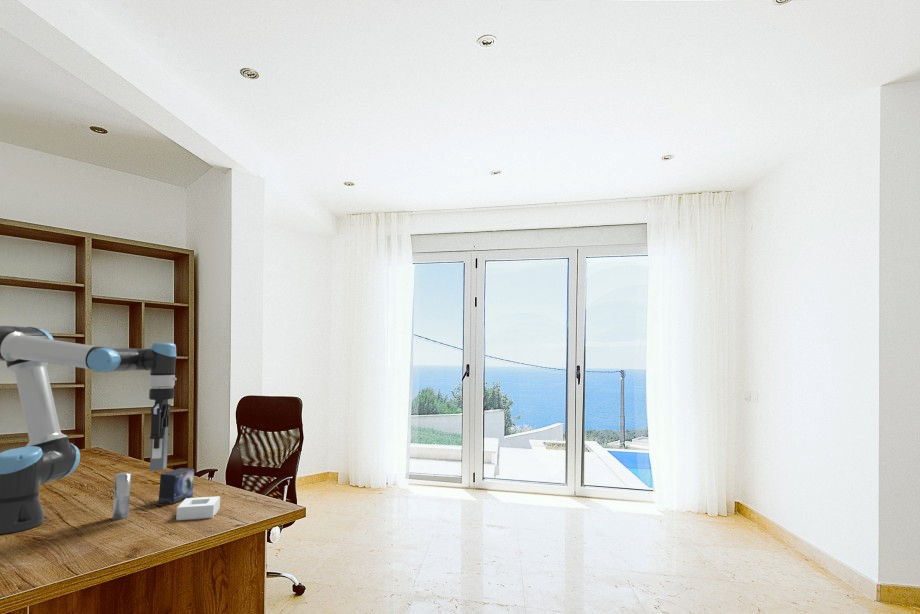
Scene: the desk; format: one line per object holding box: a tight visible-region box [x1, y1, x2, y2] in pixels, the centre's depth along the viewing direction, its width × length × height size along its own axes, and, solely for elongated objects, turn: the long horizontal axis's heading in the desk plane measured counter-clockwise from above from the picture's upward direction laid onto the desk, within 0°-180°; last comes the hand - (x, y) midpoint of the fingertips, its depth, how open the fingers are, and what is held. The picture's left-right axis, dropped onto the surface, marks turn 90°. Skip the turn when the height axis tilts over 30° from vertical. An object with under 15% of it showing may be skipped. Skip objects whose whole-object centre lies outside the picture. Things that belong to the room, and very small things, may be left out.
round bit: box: [112, 472, 132, 521], centre depth 170 cm, size 4×4×14 cm
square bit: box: [149, 425, 170, 472], centre depth 176 cm, size 4×4×14 cm
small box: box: [157, 467, 195, 505], centre depth 190 cm, size 11×6×10 cm, turn 168°
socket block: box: [175, 495, 221, 521], centre depth 174 cm, size 11×11×4 cm
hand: (158, 456), depth 175 cm, fingers closed on square bit, 4 cm apart
